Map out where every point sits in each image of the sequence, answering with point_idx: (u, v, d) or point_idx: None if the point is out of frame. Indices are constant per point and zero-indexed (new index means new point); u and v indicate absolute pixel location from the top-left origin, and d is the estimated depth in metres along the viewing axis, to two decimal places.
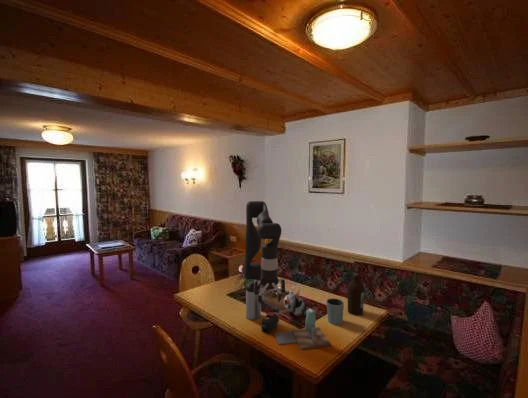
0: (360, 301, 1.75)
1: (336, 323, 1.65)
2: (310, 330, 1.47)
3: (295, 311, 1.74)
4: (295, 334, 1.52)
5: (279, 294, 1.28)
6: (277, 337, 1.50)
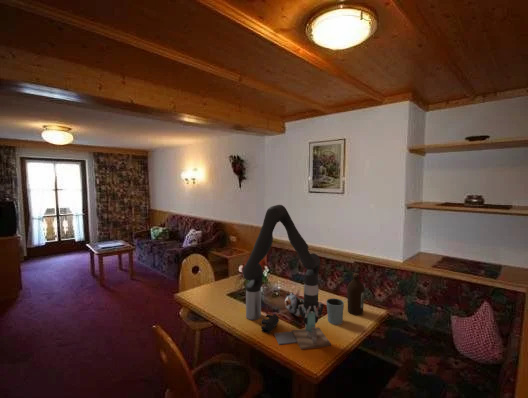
0: (360, 301, 1.75)
1: (336, 323, 1.65)
2: (310, 330, 1.47)
3: (296, 312, 1.73)
4: (295, 334, 1.52)
5: (316, 317, 1.49)
6: (277, 337, 1.50)
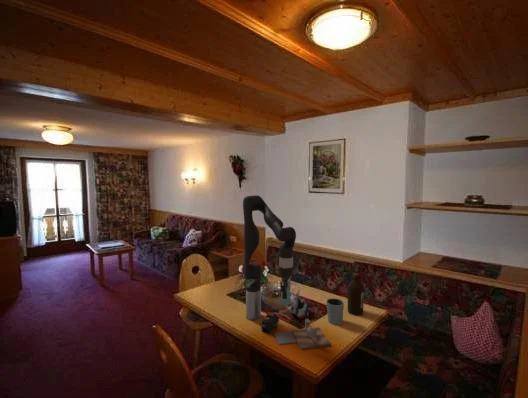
0: (360, 301, 1.75)
1: (336, 323, 1.65)
2: (289, 302, 1.48)
3: (298, 312, 1.72)
4: (295, 334, 1.52)
5: None
6: (277, 337, 1.50)
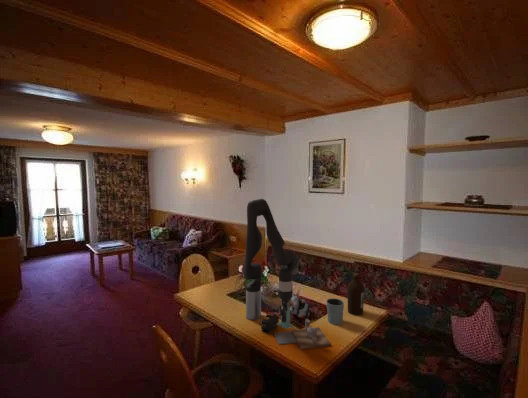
0: (360, 301, 1.75)
1: (336, 323, 1.65)
2: (289, 326, 1.48)
3: (299, 313, 1.72)
4: (295, 334, 1.52)
5: None
6: (277, 337, 1.50)
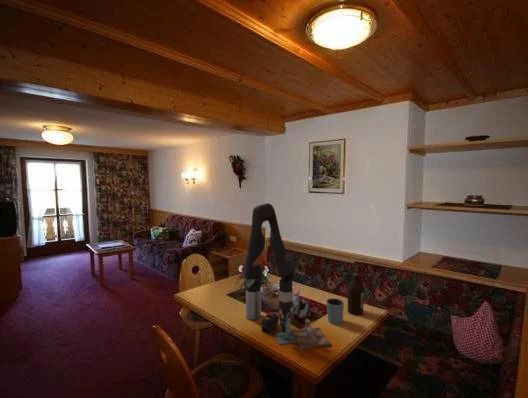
0: (360, 301, 1.75)
1: (336, 323, 1.65)
2: (289, 337, 1.49)
3: (300, 313, 1.71)
4: (295, 334, 1.52)
5: (289, 317, 1.54)
6: (277, 337, 1.50)
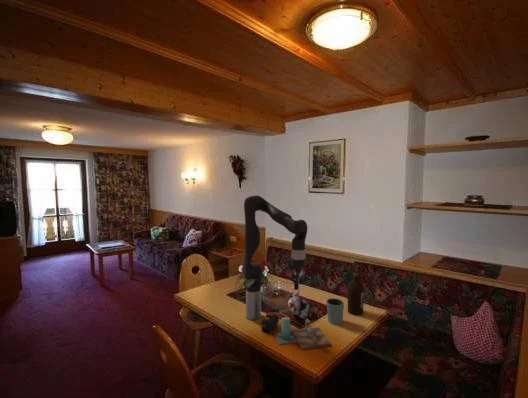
0: (360, 301, 1.75)
1: (336, 323, 1.65)
2: (289, 337, 1.49)
3: (301, 314, 1.71)
4: (295, 334, 1.52)
5: None
6: (277, 337, 1.50)
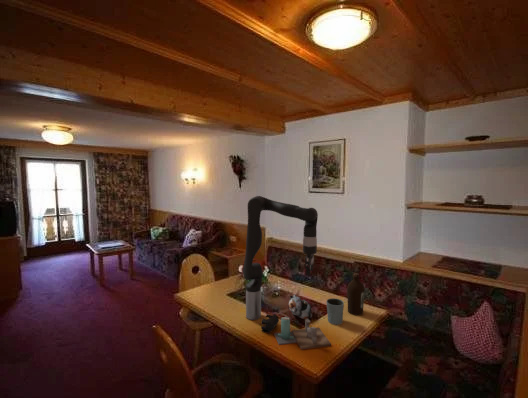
0: (360, 301, 1.75)
1: (336, 323, 1.65)
2: (289, 337, 1.49)
3: (302, 314, 1.70)
4: (295, 334, 1.52)
5: (312, 264, 1.60)
6: (277, 337, 1.50)
